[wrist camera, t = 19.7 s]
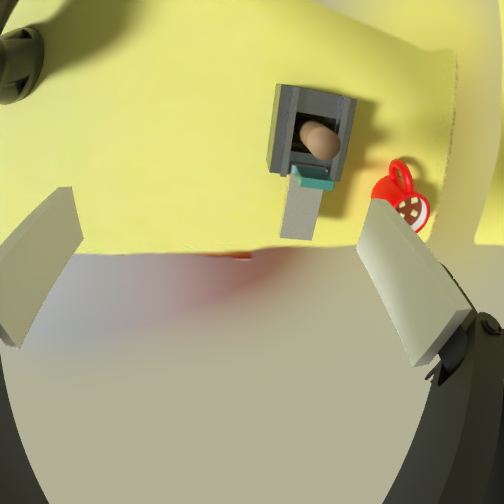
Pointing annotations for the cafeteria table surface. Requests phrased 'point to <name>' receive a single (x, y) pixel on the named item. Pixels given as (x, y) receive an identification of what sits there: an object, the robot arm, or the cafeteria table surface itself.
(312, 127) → the dowel
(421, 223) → the mug
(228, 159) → the cafeteria table surface
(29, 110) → the cafeteria table surface
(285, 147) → the mount
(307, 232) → the grey teal l-shaped bracket
